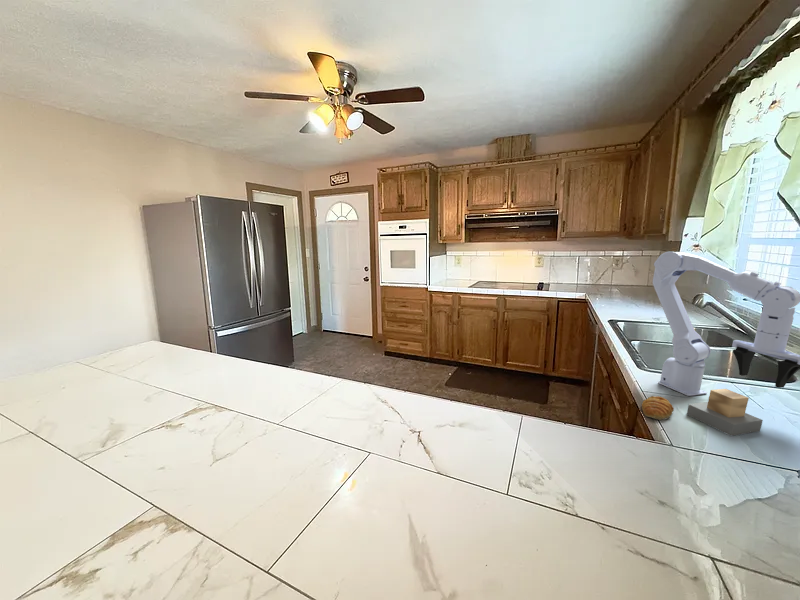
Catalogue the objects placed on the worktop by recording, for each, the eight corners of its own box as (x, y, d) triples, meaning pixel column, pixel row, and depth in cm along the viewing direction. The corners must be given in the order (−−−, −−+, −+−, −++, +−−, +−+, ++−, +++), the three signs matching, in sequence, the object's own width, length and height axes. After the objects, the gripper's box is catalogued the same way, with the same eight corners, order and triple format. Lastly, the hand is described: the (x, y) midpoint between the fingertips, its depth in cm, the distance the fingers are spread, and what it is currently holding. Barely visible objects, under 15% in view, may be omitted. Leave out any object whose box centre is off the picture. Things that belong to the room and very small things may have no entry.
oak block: (706, 407, 87) (710, 389, 86) (721, 406, 88) (725, 388, 87) (728, 417, 82) (733, 399, 81) (744, 416, 83) (748, 397, 82)
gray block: (686, 414, 89) (688, 404, 89) (713, 410, 92) (715, 400, 91) (731, 435, 80) (733, 424, 79) (759, 431, 82) (762, 420, 82)
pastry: (668, 425, 84) (671, 412, 83) (636, 415, 88) (638, 402, 88) (673, 413, 90) (675, 400, 90) (643, 404, 95) (645, 391, 94)
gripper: (822, 340, 81) (808, 391, 84) (748, 324, 95) (738, 369, 97) (803, 341, 79) (789, 393, 82) (731, 325, 93) (721, 371, 96)
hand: (760, 380), depth 89 cm, fingers open, 7 cm apart
